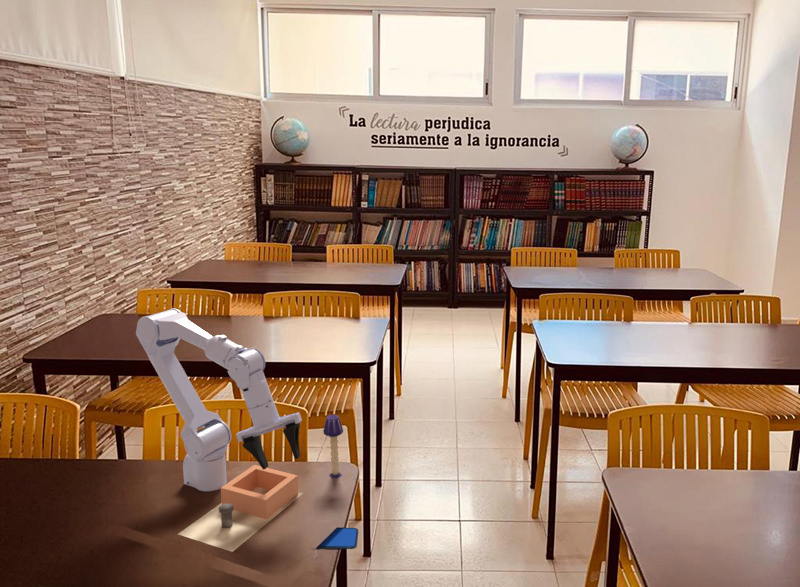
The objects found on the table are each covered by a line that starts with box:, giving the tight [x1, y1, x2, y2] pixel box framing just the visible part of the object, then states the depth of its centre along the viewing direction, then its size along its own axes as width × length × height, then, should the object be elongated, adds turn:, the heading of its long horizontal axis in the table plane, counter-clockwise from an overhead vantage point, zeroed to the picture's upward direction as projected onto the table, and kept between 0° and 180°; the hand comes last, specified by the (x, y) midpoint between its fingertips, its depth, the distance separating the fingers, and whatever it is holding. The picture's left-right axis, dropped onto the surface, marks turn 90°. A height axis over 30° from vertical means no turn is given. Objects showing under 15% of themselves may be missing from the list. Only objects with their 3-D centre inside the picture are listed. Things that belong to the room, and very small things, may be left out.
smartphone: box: [315, 526, 359, 550], centre depth 141 cm, size 7×1×15 cm
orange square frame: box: [220, 464, 299, 519], centre depth 152 cm, size 12×12×4 cm
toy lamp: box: [322, 414, 344, 479], centre depth 163 cm, size 5×5×17 cm
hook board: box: [177, 487, 304, 553], centre depth 147 cm, size 14×25×6 cm, turn 155°
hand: (281, 462), depth 148 cm, fingers open, 7 cm apart
